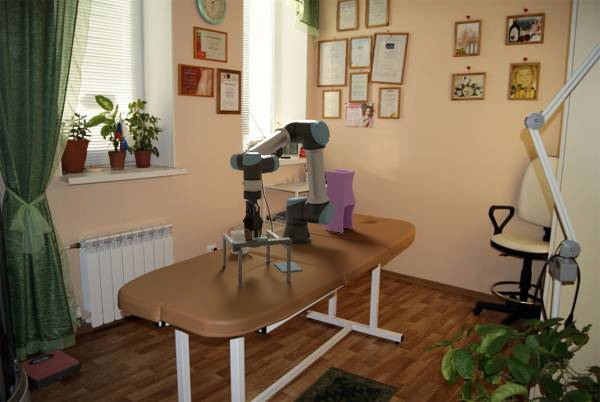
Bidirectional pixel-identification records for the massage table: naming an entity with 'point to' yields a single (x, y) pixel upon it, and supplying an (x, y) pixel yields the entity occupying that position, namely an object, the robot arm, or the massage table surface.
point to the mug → (239, 236)
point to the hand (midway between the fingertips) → (252, 242)
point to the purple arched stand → (340, 199)
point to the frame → (273, 235)
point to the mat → (283, 267)
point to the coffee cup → (249, 226)
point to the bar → (260, 242)
